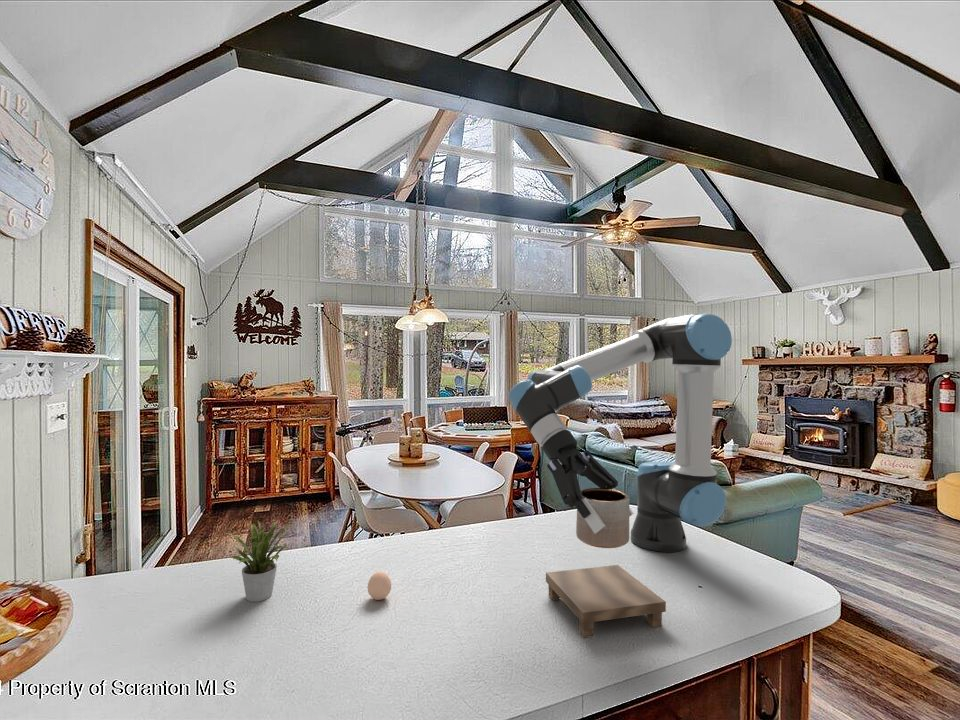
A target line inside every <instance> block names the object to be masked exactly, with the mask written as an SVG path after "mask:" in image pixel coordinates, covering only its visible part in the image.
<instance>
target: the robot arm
mask: <svg viewBox="0 0 960 720" xmlns="http://www.w3.org/2000/svg"><path fill="white" fill-rule="evenodd" d="M732 340H733V338H732V332H731V330H730V327H729V325H728V324H727V322H725V321H724V320H723V318H722V317H720V316H718V315H715V314H712V313H694V314H688V315H678V316H671V317H668V318H667V317H666V318H665V319H661V320H660V321H657V322H655V323H653V324H650V325H648V326H645V327H643V328H641V329H637V330H635V331H634V332H633V333H632V336H630V337H626V338H625V339H622V340H619V341H617V342H614V343H611V344H608V345H606V346H603V347H600V348H597V349H595V350H593V351H590V352H588V353H585V354H582V355H579V356H577V357H574V358H571V359H568V360H567V361H566V360H565V361H563V362H561V363H558V364H556V365H553V366H550V367H548V368H545V369H543V368H542V369H536V370H534V371H531V372H530V374H529V375H528V377H527V378H526V379H525V380H521V381H519V382H517V383H516V384H515V385H513V387H512V388H511V389H510V390H509V393H508V397H507V398H508V401H509V402H510V404H511V406H512V408H513V409H514V411H515V413H516V414H517V415H518V416H519V418H520V420H521V421H522V422H523V424H524V425H525V426H526V428H527V429H528V431H529V432H530V433H531V434H532V436H533V438H534V439H535V441H536V443H537V444H538V445H539V446H540V447H541V448H542V449H541V450H542V452H543V453H544V454H545V456H546V458H547V459H548V460H549V461H550V462H548V463H547V464H546V467H547V469H548V470H549V472H550V473H551V475H552V476H553V477H552V478H554V479H553V480H554V482H555V484H556V487H557V489H558V492H559V493H560V496H561V499H562V501H563V503H564V505H567V506H569V507H570V508H574V507H575V508H576V511H577V510H578V511H579V513H580V514H581V516H582V517H583V518H584V519H585V520H586V522H587V523H588V525H589V526H590V528H591V529H592V531H593V532H594V533H595V534H596V533H598V532H599V531H600V530H601V529H602V528H604V527H605V525H604V523H603V522H602V520H601V519H600V517H599V516H598V515H597V513H596V512H595V510H594V509H593V507H592V506H591V505H590V503H589V502H588V500H587V499H586V498H584V499H583V500H581V499H582V495H581V491H580V490H581V487H580V483H579V477H578V475H579V476H581V477H585V478H586V479H588V480H589V481H590V482H591V483H592V484H594V485H595V486H597V488H606V489H613V490H617V489H616V487H618V486H619V482H618V480H617V479H616V478H615V477H614V476H613V475H612V474H611V473H610V471H608V470H607V469H606V468H605V467H603V466H602V464H600V463H599V462H598V460H597V459H596V458H595V457H594V456H593V455H592V453H591V452H590V451H589V450H585V451H584V452H583V453H582V452H580V451H579V450H578V449H577V445H578V441H577V439H576V437H575V436H574V435H573V434H572V433H571V431H570V430H568V426H567V425H566V424H565V423H564V422H563V420H562V418H561V417H560V416H559V414H558V413H557V411H558V410H560V409H562V408H564V407H566V406H567V405H569V404H571V403H573V402H575V401H577V400H579V399H582V398H583V397H585V396H586V395H587V394H589V393H590V392H591V391H592V389H593V383H592V382H593V381H595V380H598V379H601V378H604V377H606V376H608V375H610V374H614V373H617V372H619V371H621V370H624V369H626V368H628V367H631V366H634V365H636V364H637V365H638V364H640V363H641V362H643V363H647V364H648V363H651V362H654V361H655V362H656V361H658V360H664V359H665V360H666V359H671V363H672V364H671V366H673V368H674V369H675V370H677V374H678V375H677V399H676V400H677V401H676V424H675V425H676V427H675V429H676V431H675V450H674V451H675V455H674V456H675V457H674V461H672V462H669V461H649V462H642V463H640V464H639V465H638V470H637V476H636V477H637V503H636V504H637V509H636V511H637V513H636V517H635V519H634V521H633V525H632V528H631V530H630V541H631V543H633V544H634V545H635V546H638V547H640V548H642V549H645V550H649V551H655V552H661V553H662V552H663V553H675V552H681V551H683V550H685V549H686V548H687V536H686V534H685V529H684V526H683V524H682V521H684V522H685V523H687V524H690V525H691V524H692V525H694V526H697V527H708V526H710V525H712V524H714V523H716V522H717V520H718V519H719V518H721V517H722V515H723V513H724V512H725V510H726V506H727V495H726V492H725V491H724V490H723V487H721V485H719V484H718V483H717V481H718V480H717V477H718V476H717V474H718V473H717V471H716V470H715V469H714V468H713V466H712V465H711V461H712V460H711V459H712V434H713V409H714V408H713V406H714V404H713V403H714V402H713V401H714V378H715V377H714V376H715V372H717V370H718V369H720V368H721V366H722V365H721V364H722V359H723V358H724V357H726V355H728V352H729V351H730V350H731V348H732V347H731V346H732V342H733V341H732ZM633 515H634V512H633V511H632V509H631V508H630V507H629V518H630V517H631V516H633Z"/></svg>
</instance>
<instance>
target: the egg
mask: <svg viewBox="0 0 960 720" xmlns="http://www.w3.org/2000/svg"><path fill="white" fill-rule="evenodd" d="M391 580H392V579H391V578H390V576H389V575H388V574H387V573H386V572H385V571H383V570H382V571H381V570H378V571H376V572H374V573H373V574H371V577H370V578H369V579H368V583H367V593H368V595H369V596H370V597H371V598H372V599H373V600H376V601H381V600H385V598H387V597H388V596H389V595H390V593H391V591H392V581H391Z"/></svg>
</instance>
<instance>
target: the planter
mask: <svg viewBox="0 0 960 720" xmlns="http://www.w3.org/2000/svg"><path fill="white" fill-rule="evenodd" d="M580 491H581V495H582V499H581V500H583V499H584V498H586V499H587V500H588V502H589V503H590V505H591V506H592V507H593V509H594V510H595V512H596V513H597V515H598V516H599V517H600V519H601V520H602V522H603V523H604V525H605V527H604V528H602V529H601V530H600V531H599V532H598V533H596V534H595V533H594V532H593V531H592V529H591V528H590V526H589V525H588V523H587V522H586V520H585V519H584V518H583V517H582V516H581V514H580V513H579V511H578V510H577V509H576V524H575V525H576V526H575V527H576V528H575V534H576V537H577V539H578V540H579V541H580V542H581V543H583V544H585V545H587V546H590V547H594V548H599V549H600V548H601V549H618V548H621V547H623V546H625V545H627V544H628V543H629V542H630V517H629V508H630V495H629V494H627V493H625V492H624V491H621V490H617V489H616V490H613V489H606V488H599V487H590V488H589V487H588V488H583V489H580Z"/></svg>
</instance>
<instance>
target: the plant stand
mask: <svg viewBox="0 0 960 720" xmlns="http://www.w3.org/2000/svg"><path fill="white" fill-rule="evenodd" d="M545 582H546V583H547V585H548V596H550V597H549V598H550V599H551V600H552V599H556V600H561V601H562V602H563V603H565V605H566V606H567V607H568V608H569V609H570V611H571V612H572V613H573V614H574V615H575V616H576V617H577V618H578V628H579V629H578V632H579V633H580V635H581V636H582V637H583V638H589V637H593V636H594V624H595V623H596V622H602V621H609V620H616V619H625V618H631V617H637V616H645V615H646V623H648V624H649V625H650V626H651V627H652V628H657V627H662V626H663V625H662V624H663V623H662V622H663V621H662V620H663V618H662V617H663V613H666V611H667V609H666V607H667V605H666V604H667V602H666V600H664V599H663V598H662V597H661V596H659V595H657V593H655V592H654V591H652V590H651V588H649V587H647V586H646V585H645V584H643V583H642V582H641V581H640V580H638V579H637V578H636V577H634V576H633V575H632V574H631V573H629V572H628V571H627V570H625V569H624V568H623V567H622V566H620V565H619V564H614V565H605V566H594V567H587V568H577V569H568V570H567V569H566V570H559V571H557V570H556V571H549V572H545ZM559 598H561V599H559Z"/></svg>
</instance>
